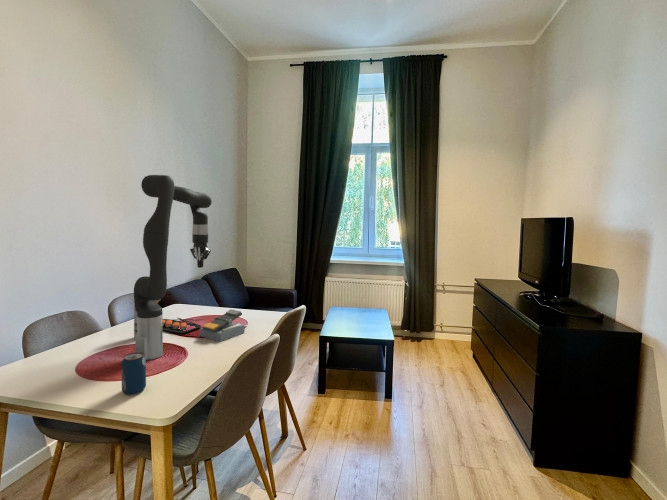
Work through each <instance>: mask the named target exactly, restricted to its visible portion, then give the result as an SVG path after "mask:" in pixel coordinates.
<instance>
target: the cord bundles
mask: <svg viewBox="0 0 667 500" xmlns="http://www.w3.org/2000/svg"><path fill="white" fill-rule="evenodd" d="M238 326H241V323H237V325H234V326H231V327H228V328H225V329H222V331H223V332H224V331H227V330H230V329H232V328H235V327H238Z"/></svg>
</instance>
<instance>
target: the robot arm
mask: <svg viewBox="0 0 667 500" xmlns="http://www.w3.org/2000/svg"><path fill="white" fill-rule="evenodd" d="M140 187H141V190H142V192H143V193H144V194H145V195H146V196H148V197H150V198H157V204H156V208H155V210H154V212H153V214H152V215H151V217H150V218H149V219H148V220H147V222H146V224H145V226H144V228H143V237H142V246H143V250H144V253H145V255H146V257H147V258H146V259H148V262H149V275H148V276H145V275H144V276H141V277H139V278H138V279H136V281H135V283H134V287H133V300H134V305H135V310H136V312H137V335H135V337H134V345H135V346H134V348H135V349H134V350H135V352H134V353H143V354H144V357H145V359H146V361H148V360H154V359H155V360H156V359H158V358H161V357H162V356H163V355H164V350H163V349H164V345H163V343H164V342H163V341H164V339H163V338H164V335H163V332H164V330H163V319H164V318H163V308H162V306H160V305H158V304H159V303H158V302H156V301H160V300H162V299H163V298H164V297H165V295H166V294H167V293H166V292H167V287H168V283H167V282H168V279H167V278H168V277H167V275H168V274H167V273H168V272H167V263H168V262H167V260H168V246H169V234H170V222H171V221H170V220H171V212H172V207H173V203H174V202H173V201H176V202H179V203H182V204H186V205H189V207H190V212H191V215H192V230H191V231H192V232H191V233H192V238H191V239H192V241H191V242H192V244H193V247H192V248H190V252H191V254H192V257H193V258H194V259H196V265H197V268H198V269H199V268H200V269H201V268H204V261H205V260H207V259H208V257H209V256H210V254H211V251H212V250H211V249H209V248H208V245H207V244H208V243H209V224H208V223H209V222H208V220H209V219H208V218H209V217H208V216H209V215H208V214H207V213H205V212H202V211H201V209H207V208H209V207H210V206H211V205H212V204H213V203H212V202H213V201H212V198H211V196H210V195H209V194H208V193H204V192H200V191H199V192H197V191H194V190H192V189H189V188H187V187H184V186H183V187H182V186H177V185H175V182H174V179H173V178H172V177H171V176H170V175H165V174H149V175H148V174H147V175H145V176H144V177H143V178H142V180H141V186H140ZM157 303H158V304H157Z"/></svg>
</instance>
